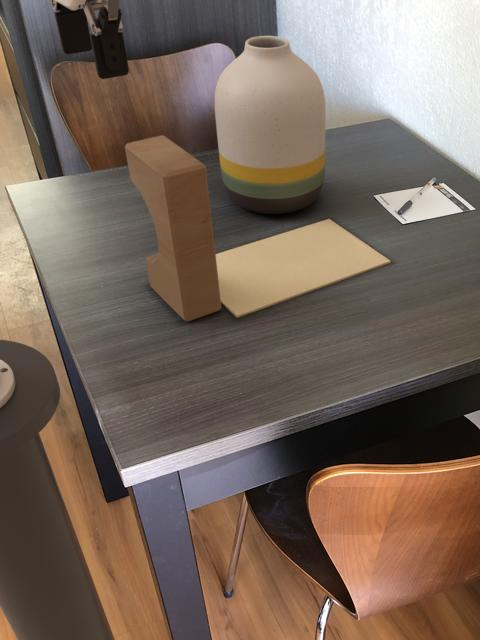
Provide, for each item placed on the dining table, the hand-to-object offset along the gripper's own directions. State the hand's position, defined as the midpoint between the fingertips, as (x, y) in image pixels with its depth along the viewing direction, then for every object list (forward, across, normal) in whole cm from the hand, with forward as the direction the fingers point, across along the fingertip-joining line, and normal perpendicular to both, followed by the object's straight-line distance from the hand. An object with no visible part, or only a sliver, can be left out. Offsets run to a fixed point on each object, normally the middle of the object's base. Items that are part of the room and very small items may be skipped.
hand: (95, 63), depth 77 cm
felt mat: (+30, +2, +22) cm, 37 cm away
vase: (+30, -17, +32) cm, 47 cm away
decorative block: (+31, +1, +6) cm, 31 cm away
